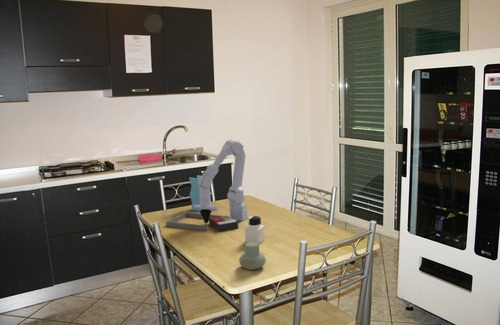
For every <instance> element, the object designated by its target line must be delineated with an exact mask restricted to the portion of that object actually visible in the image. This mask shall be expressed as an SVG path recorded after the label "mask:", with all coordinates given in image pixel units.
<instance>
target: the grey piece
mask: <svg viewBox="0 0 500 325" xmlns="http://www.w3.org/2000/svg"><path fill="white" fill-rule="evenodd" d="M221 216H222V215H220V214H212V213H211V214H210V216H209V219H210V218H215V217H221ZM184 218H185V219H186V218H198V219H203V217H202V215H201V213H200V212H191V211H184V212H183V213H181V214H179V215H176V216H175V217H173V218H171V219H169V220H166V222H165V223H166V224H165V226H166V227H172V228H178V229H179V228H180V229H188V230H195V231H201V232H202V231H203V232H207V231H208V225H204V224H203V225H202V224H194V223H186V222H179V221H182V220H183V219H184Z"/></svg>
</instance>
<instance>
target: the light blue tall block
mask: <svg viewBox="0 0 500 325" xmlns="http://www.w3.org/2000/svg"><path fill="white" fill-rule="evenodd" d="M201 176H202V175H196V177H189V178H188V179H189V182H190V186H191V188H190V193H189V197H190V200H191V211H195V212H200V211H201V209H193V206H194V205H200V191H199V185H198V184H197V181H198V179H199V177H201Z"/></svg>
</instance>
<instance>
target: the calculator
mask: <svg viewBox="0 0 500 325" xmlns="http://www.w3.org/2000/svg"><path fill="white" fill-rule="evenodd" d="M208 223H209V225H210V226H211V227H212V228H215V229H216V230H217V232H224V231H225V232H226V231H231V230H237V229H239V221H237V220H234V219H233V218H230V215H221V217H215V218H210V219H209V221H208Z"/></svg>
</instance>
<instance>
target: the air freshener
mask: <svg viewBox="0 0 500 325" xmlns="http://www.w3.org/2000/svg"><path fill="white" fill-rule="evenodd" d="M266 259H267V258H266V256H265V255H264V254H263V253H262V252H260V243H259V244H258V243H257V242H248V243H247V242H245V244H244V253H243V254H241V255H240V256H239V260H238V261H239V262H238V263H239V265H240V266H241V267H243V269H246V270H249V271H254V270H257V269H261V268H262V267H263V266H264V265H265V264H266V262H267V260H266Z"/></svg>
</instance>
